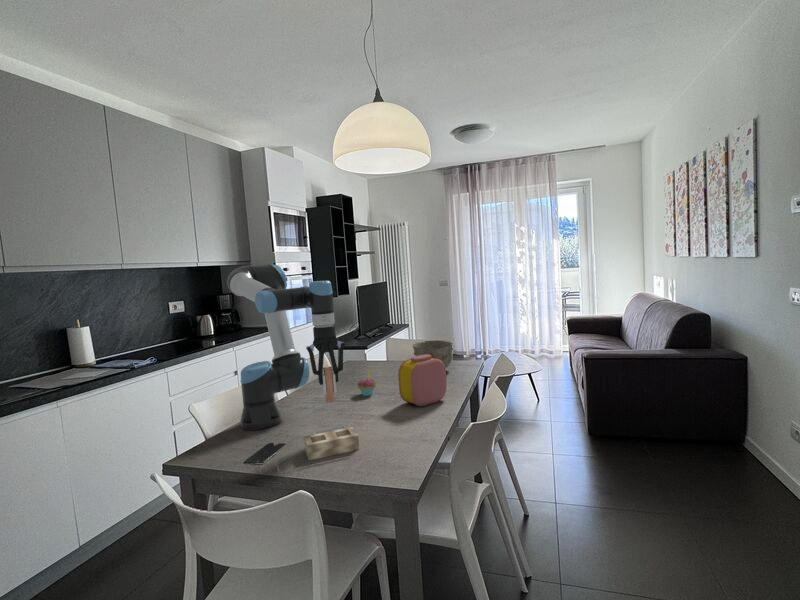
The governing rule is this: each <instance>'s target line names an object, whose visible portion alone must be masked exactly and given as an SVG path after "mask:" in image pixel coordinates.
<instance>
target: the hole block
mask: <svg viewBox="0 0 800 600" xmlns="http://www.w3.org/2000/svg"><path fill="white" fill-rule="evenodd" d="M303 441H304V451H305V454H306V457H307V459H308V461H312V460H317V459H322V458H325V457H329V456H334V455H340V454H344V453H349V452H352V451H357V450H360V442H359V441H360V440H359V434H358V433H357V432H356V429H354V428H353V426H351V427H349V426H348V427H344V429H339V430H334V431H329V432H324V433H319V434H317V433H315V434H311V435H305V436H303Z"/></svg>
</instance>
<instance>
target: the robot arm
mask: <svg viewBox="0 0 800 600" xmlns="http://www.w3.org/2000/svg"><path fill="white" fill-rule="evenodd" d="M226 285H227V287H228V290H229V291H230V292H231V293H232V294H234V295H235V296H238V297H245V298H246V299H248V300H250V301H252V303H253V302H254V304H255V308H256V309H257V311H258V313H260V314H264V318H265V321H266V325H267V330H268V335H269V339H270V342H271V347H272V350H273V351H272V352H273V358H272V359H271V361H269V360H264V361H258V362H257V361H256V362H254V363H250V364H248V365H246V366H244V367H243V368H242V369H241V371H240V384H241V386H240V387H241V392H242V393H241V394H242V404H243V405H242V406H243V407H242V412H241V417H240V428H241V429H242V430H246V431H256V430H257V431H259V430H264V429H268V428H271V427H273V426H276V425H278V424H279V423H281V422H282V417H281V415H282V414H281V412H280V410H279V408H278V405H277V403H276V401H275V394H278V393H281V392H285V391H290V390H293V389H298V388H301V387H304V386H305V385H306V384H307V383H308V382H309V378H310V365H311V370H312V374H313V375H315V376H318V383H319V385H320V386H321V385H322V386H321V387H322V393H323V394H324V395H325V394H326V382H325V375H324V371H323V368H324V359H325V358H324V357H325V354H326V353H328V354H329V359H330V363H331V367H332V375H333V387H334V394H335V393H337V383H338V382H339V373H340V372H342V371H343V369H344V349H345V347H346V343H345V342H344V341H339V339H338V338H337V333H336V331H337V330H336V326H335V325H334V324H335V310H334V308H335V307H334V296H333V294H334V292H333V288H332V283H331V281H330V280H316V281H310V283H309V286H307V285H306V286H301V287H300V286H299V287H292V288H287V287H288V279H287V276H286V272H285V271H284V269H283V268H282V266H280V265H278V264H270V263H269V264H261V265H259V264H257V265H243V266H240V267H237V268H235V269H234V270H232V271H231V272H230V274H229V275H228V277H227V280H226ZM309 308H310V309H311V318H312V322H311V323H312V326H313V328H312V331H313V341H312V343H311V344H310V345H308V346H306V351H307V352H308V355H309V360H310V365H309V362H308V360H307V358H306V357H303V356H301V353H300V352H299V351H298V350H297V349H296V348H295V347H296V346H295V343H294V340H293V335H292V332H291V327H290V324H289V320H288V315H287V313H286V311H292V310H299V309H301V310H302V309H309ZM336 346H337V348H338V350H337V351H338V352H337V357H338V358H337V359H338V360H337V361H336V356H335V352H334V350H335V348H336ZM314 348H315V349H316V350H317V351H318V363H317V364H316V359H315V358H316V357H315V354H314V350H315V349H314Z"/></svg>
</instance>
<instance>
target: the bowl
mask: <svg viewBox="0 0 800 600" xmlns="http://www.w3.org/2000/svg"><path fill="white" fill-rule="evenodd" d="M453 345H454V344H453V342H451V341H446V340H437V339H436V340H425V341H421V342H415V343H413V344H412V348H413V351H414V353H413V355H414V357H415V356H420V355H425V354H428V355H432V358H433V359H439V360H441V361H442V362H443V364H444V365H445V369H446V370H447V368H448V367H449V366H450V364H451V363H452V360H453V350H454V348H453Z"/></svg>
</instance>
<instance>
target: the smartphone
mask: <svg viewBox="0 0 800 600" xmlns="http://www.w3.org/2000/svg"><path fill="white" fill-rule="evenodd" d="M284 446H286V442H285V443H281V442H280V443H277V444H274V442H268V443H266V444H265V445H264V446H263V447H261V448H260V449H259V450H257V451H256V452H255V453H253V454H252V455H251V456H249V457H248V458H246V459H244V460H243V464H245V463H264V462H265V461H266V460H268V459H269V458H271V457H272V456H273V455H274V456H276V453H277V452H278V451H280V450H281V449H282V448H283V447H284ZM274 456H273V457H274ZM273 457H272V458H273ZM272 458H271V459H272ZM269 460H270V459H269ZM269 460H268V461H269ZM264 464H265V463H264Z"/></svg>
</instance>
